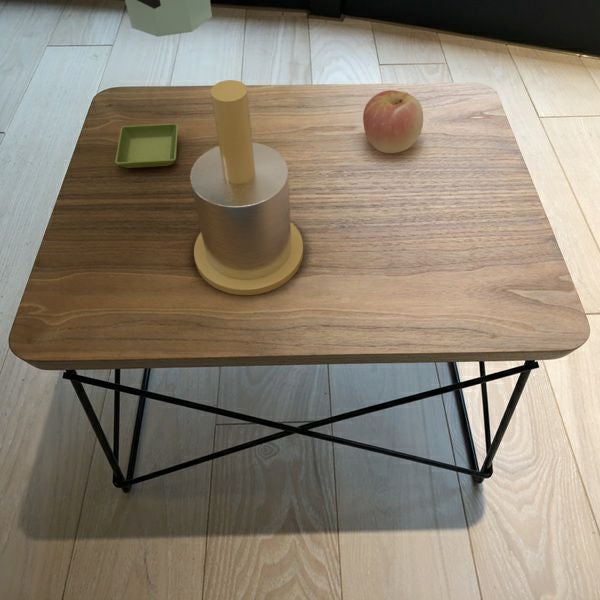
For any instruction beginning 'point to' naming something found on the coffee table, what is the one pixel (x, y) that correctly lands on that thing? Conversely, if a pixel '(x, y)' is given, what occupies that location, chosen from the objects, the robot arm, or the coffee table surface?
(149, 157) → the saucer
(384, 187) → the coffee table surface
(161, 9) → the jar
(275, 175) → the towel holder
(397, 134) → the apple
